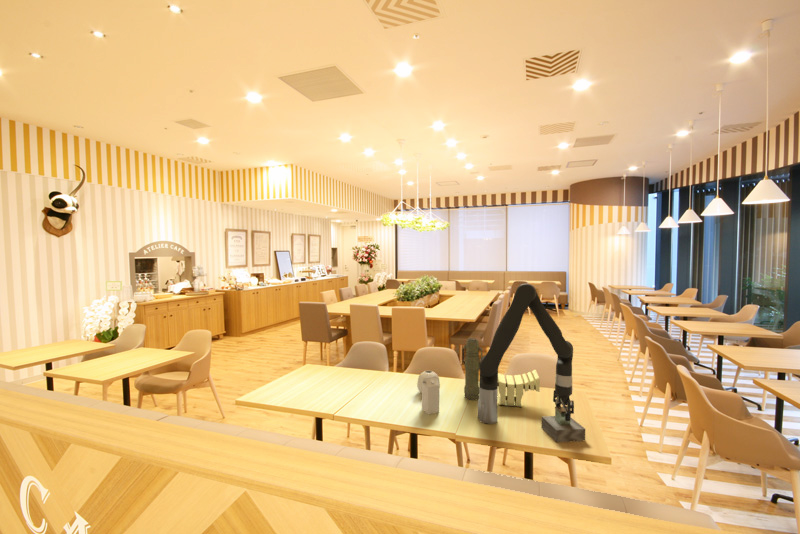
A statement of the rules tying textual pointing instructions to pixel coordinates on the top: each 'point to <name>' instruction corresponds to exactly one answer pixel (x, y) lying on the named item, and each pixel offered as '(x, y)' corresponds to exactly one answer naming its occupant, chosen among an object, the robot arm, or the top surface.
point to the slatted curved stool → (516, 387)
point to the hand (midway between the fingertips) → (562, 416)
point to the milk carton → (430, 395)
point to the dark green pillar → (471, 369)
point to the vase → (422, 378)
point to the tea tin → (561, 416)
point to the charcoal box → (563, 430)
